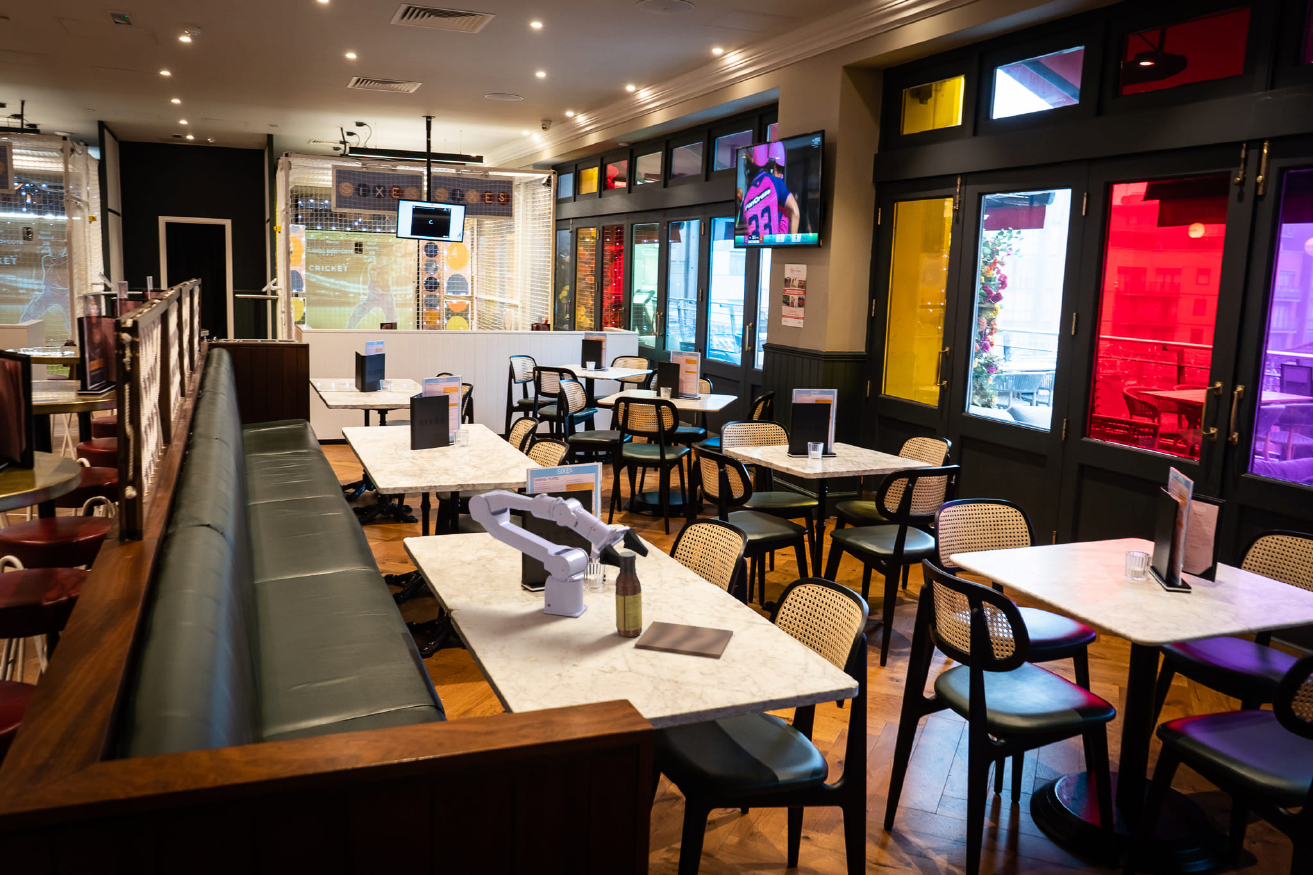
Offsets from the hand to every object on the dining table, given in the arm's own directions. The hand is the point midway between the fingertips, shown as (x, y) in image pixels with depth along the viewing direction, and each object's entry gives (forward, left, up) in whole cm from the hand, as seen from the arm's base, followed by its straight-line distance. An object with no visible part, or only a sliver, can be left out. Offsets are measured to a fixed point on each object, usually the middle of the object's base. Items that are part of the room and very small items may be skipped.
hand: (638, 560), depth 227 cm
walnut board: (+14, -5, -17) cm, 22 cm away
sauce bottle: (0, -5, -17) cm, 18 cm away
